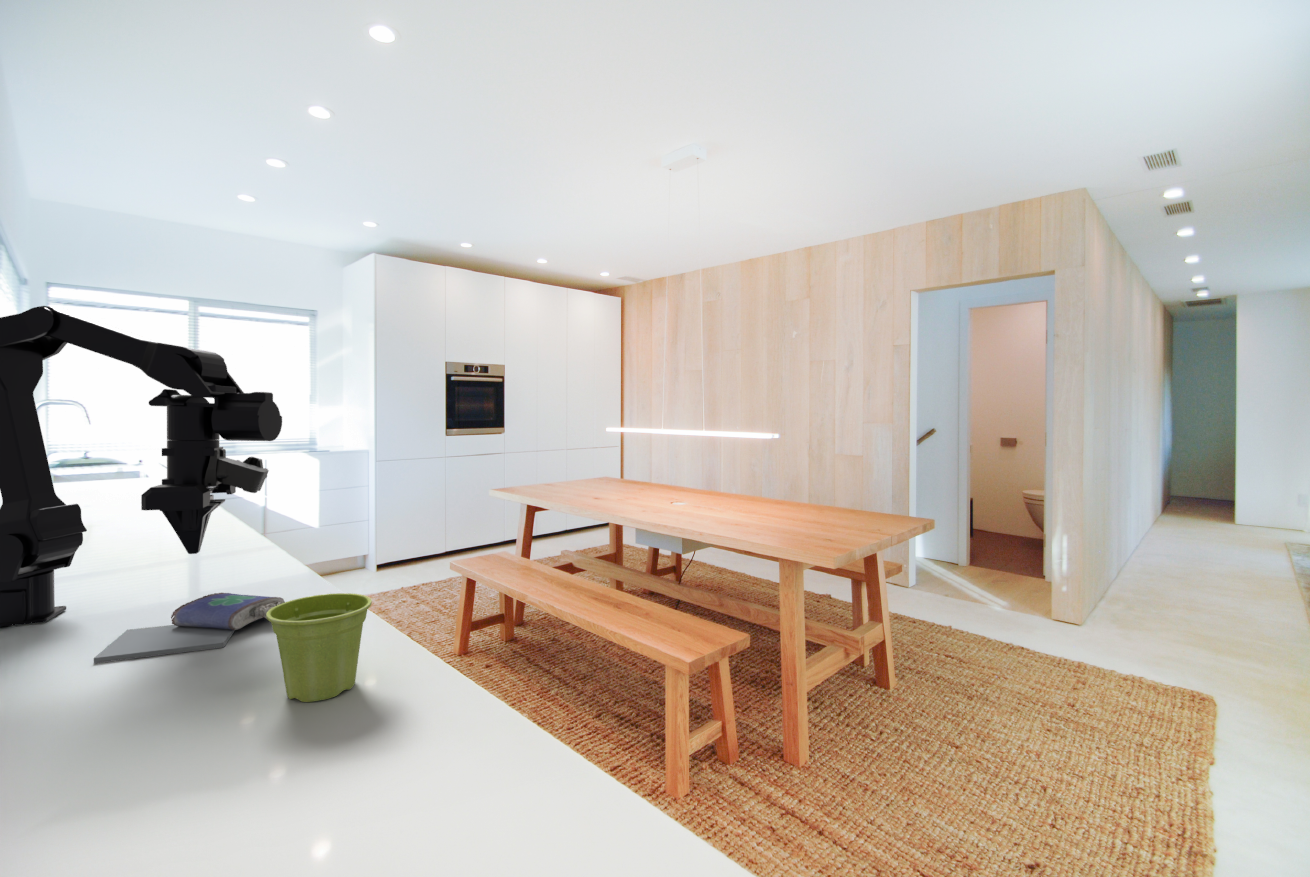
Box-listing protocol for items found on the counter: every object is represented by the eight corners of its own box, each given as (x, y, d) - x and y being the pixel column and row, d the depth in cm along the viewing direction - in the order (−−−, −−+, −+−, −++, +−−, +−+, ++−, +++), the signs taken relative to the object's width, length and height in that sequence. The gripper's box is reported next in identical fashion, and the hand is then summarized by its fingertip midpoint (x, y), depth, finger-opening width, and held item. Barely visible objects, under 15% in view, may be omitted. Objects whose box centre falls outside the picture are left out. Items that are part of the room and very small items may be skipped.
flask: (169, 629, 76) (244, 633, 75) (169, 606, 76) (244, 610, 75) (230, 608, 85) (298, 612, 84) (230, 587, 85) (298, 591, 84)
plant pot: (260, 720, 55) (260, 626, 54) (271, 680, 63) (271, 599, 63) (373, 699, 59) (373, 612, 59) (369, 665, 67) (369, 588, 67)
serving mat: (127, 634, 76) (127, 629, 76) (240, 622, 81) (240, 617, 81) (93, 663, 67) (93, 658, 67) (223, 647, 72) (223, 642, 72)
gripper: (249, 442, 77) (249, 563, 77) (274, 438, 94) (274, 537, 94) (139, 442, 72) (139, 570, 72) (186, 438, 89) (187, 542, 89)
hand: (193, 553), depth 82 cm, fingers closed
